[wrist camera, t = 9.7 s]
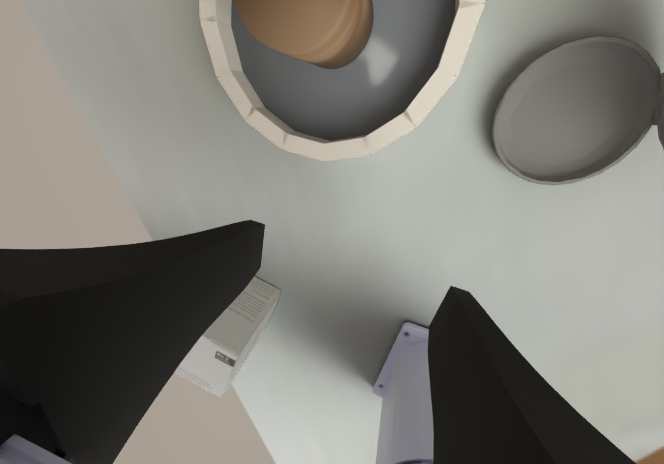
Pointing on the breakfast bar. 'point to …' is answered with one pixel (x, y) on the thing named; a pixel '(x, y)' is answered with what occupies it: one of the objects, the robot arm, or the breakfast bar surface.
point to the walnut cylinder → (311, 28)
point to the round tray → (344, 77)
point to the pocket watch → (578, 110)
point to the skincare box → (230, 339)
